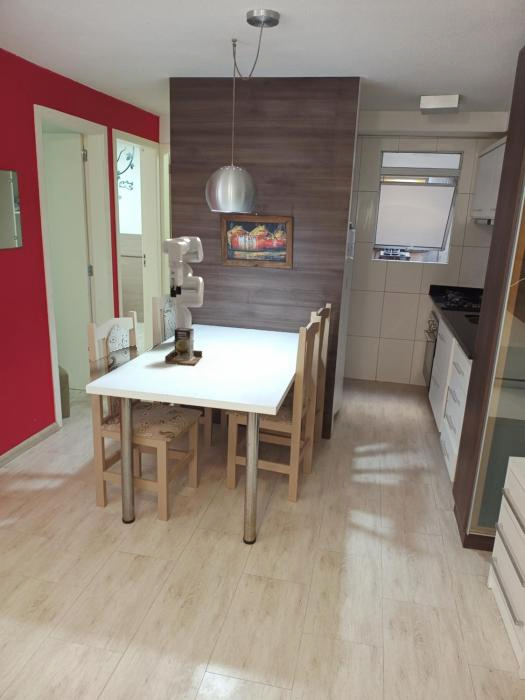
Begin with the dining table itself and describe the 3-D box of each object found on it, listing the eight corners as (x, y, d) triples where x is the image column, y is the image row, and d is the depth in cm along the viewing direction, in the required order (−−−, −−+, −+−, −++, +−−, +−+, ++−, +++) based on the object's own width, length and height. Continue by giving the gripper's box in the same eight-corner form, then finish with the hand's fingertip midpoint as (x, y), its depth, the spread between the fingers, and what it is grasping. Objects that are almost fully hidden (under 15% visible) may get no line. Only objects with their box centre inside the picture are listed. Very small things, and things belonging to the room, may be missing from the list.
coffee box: (174, 358, 285) (173, 329, 281) (178, 355, 291) (177, 327, 287) (190, 359, 284) (190, 330, 280) (194, 356, 290) (193, 328, 286)
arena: (174, 356, 294) (174, 349, 293) (202, 357, 292) (202, 350, 291) (165, 363, 279) (165, 356, 278) (194, 365, 277) (194, 358, 276)
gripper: (177, 266, 278) (178, 298, 282) (186, 263, 294) (186, 293, 299) (163, 265, 279) (164, 297, 283) (173, 263, 295) (174, 293, 299)
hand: (176, 295), depth 291 cm, fingers open, 9 cm apart
